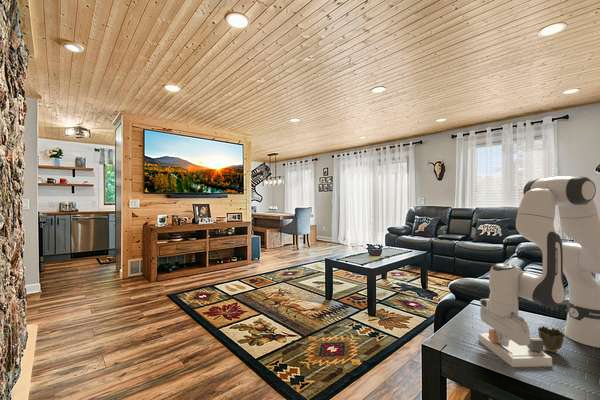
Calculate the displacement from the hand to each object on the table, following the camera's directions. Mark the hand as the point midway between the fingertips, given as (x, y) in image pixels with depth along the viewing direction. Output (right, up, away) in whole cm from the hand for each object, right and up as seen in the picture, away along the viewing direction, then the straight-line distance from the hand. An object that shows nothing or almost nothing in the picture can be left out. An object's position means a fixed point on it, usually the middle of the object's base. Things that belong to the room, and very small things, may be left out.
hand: (503, 344), depth 105 cm
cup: (+20, -4, +2) cm, 20 cm away
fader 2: (+10, -1, -2) cm, 10 cm away
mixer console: (+5, -4, +2) cm, 7 cm away
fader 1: (0, -1, +4) cm, 4 cm away
